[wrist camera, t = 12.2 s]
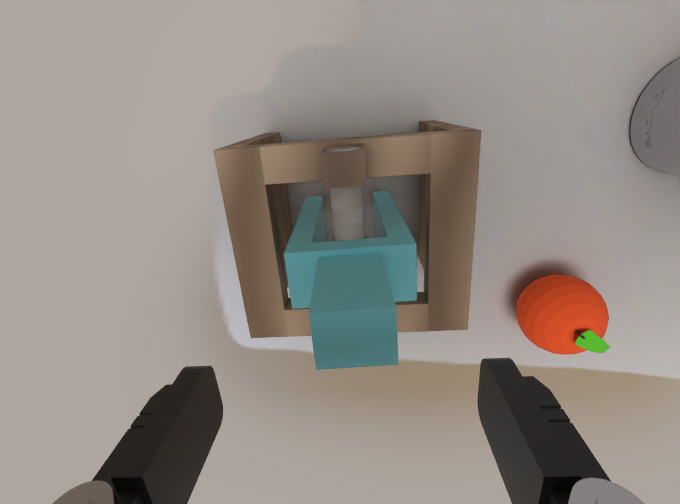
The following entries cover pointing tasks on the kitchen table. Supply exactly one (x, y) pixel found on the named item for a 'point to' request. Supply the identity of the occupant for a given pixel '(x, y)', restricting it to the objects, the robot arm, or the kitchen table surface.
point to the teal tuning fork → (352, 284)
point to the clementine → (563, 315)
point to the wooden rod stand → (353, 216)
